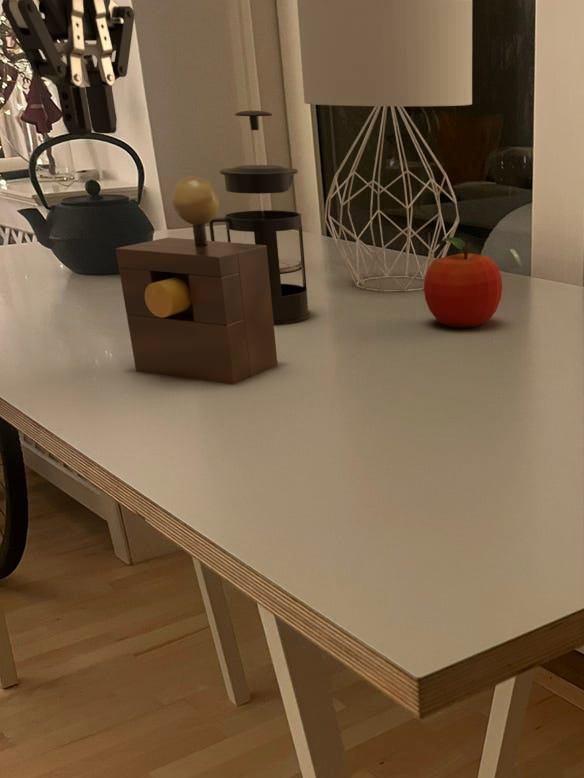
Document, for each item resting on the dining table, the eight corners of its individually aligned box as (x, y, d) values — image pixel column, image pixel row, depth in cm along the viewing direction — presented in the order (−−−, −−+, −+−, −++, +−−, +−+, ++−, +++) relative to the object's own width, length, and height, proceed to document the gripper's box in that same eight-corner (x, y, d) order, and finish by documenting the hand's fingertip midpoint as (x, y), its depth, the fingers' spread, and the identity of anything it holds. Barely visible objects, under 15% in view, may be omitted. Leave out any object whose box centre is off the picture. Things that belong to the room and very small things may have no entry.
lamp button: (174, 319, 94) (169, 284, 93) (147, 316, 95) (141, 281, 94) (193, 313, 97) (189, 278, 95) (166, 310, 98) (162, 276, 96)
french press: (309, 307, 130) (294, 109, 118) (321, 323, 122) (306, 112, 110) (217, 312, 126) (193, 109, 115) (224, 329, 119) (198, 112, 107)
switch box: (233, 385, 98) (210, 184, 89) (135, 372, 102) (103, 178, 93) (277, 366, 104) (260, 176, 95) (184, 354, 108) (158, 171, 99)
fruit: (475, 337, 116) (475, 246, 111) (409, 326, 121) (407, 239, 116) (516, 322, 123) (519, 236, 118) (453, 313, 128) (453, 230, 123)
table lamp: (325, 270, 153) (304, -41, 133) (469, 270, 154) (469, -39, 134) (309, 299, 134) (282, -60, 114) (474, 299, 135) (475, -57, 115)
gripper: (77, -92, 87) (112, 129, 95) (-53, -117, 76) (0, 136, 84) (146, -96, 84) (176, 131, 93) (23, -122, 73) (69, 139, 82)
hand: (92, 132), depth 89 cm, fingers closed
